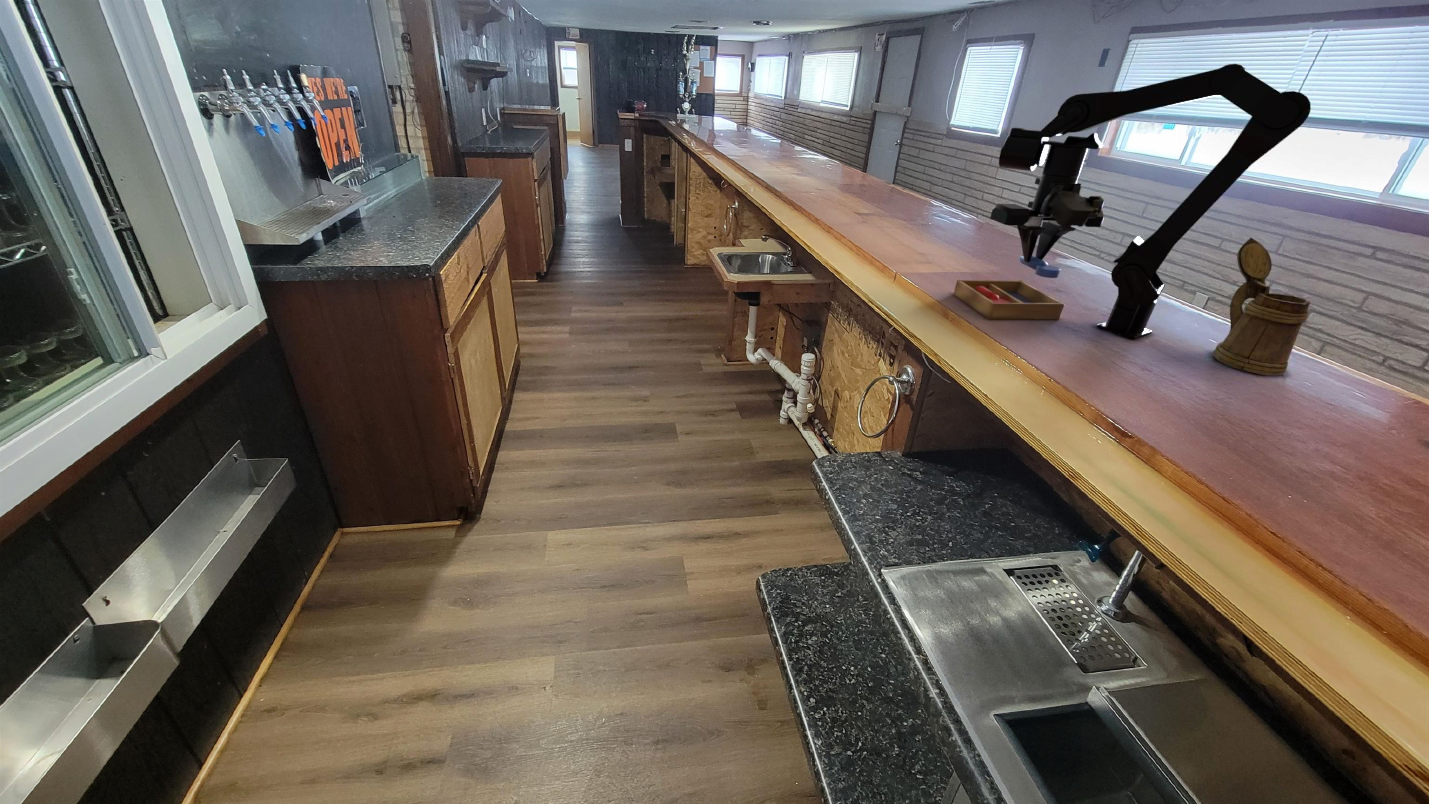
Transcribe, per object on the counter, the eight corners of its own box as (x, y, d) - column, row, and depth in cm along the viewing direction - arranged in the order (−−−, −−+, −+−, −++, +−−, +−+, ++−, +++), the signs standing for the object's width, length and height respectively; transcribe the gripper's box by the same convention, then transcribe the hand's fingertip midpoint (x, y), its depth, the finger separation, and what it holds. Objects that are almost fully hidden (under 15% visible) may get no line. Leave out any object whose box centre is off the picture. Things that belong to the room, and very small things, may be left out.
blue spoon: (1011, 262, 110) (1014, 252, 109) (1029, 262, 111) (1033, 252, 110) (1043, 278, 102) (1046, 267, 101) (1062, 278, 102) (1066, 267, 101)
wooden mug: (1218, 340, 99) (1272, 237, 90) (1299, 375, 88) (1370, 260, 79) (1175, 341, 98) (1226, 237, 89) (1252, 377, 86) (1319, 261, 77)
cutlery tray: (953, 294, 116) (957, 280, 114) (1017, 294, 117) (1021, 280, 116) (988, 319, 104) (993, 303, 102) (1059, 319, 105) (1064, 304, 104)
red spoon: (967, 294, 114) (970, 284, 113) (985, 294, 114) (987, 284, 113) (993, 312, 105) (996, 301, 104) (1012, 312, 106) (1015, 301, 105)
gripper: (1038, 180, 92) (1009, 274, 99) (1142, 183, 94) (1106, 275, 101) (1001, 170, 101) (977, 257, 109) (1096, 173, 103) (1066, 258, 111)
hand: (1031, 262), depth 107 cm, fingers closed on blue spoon, 2 cm apart
